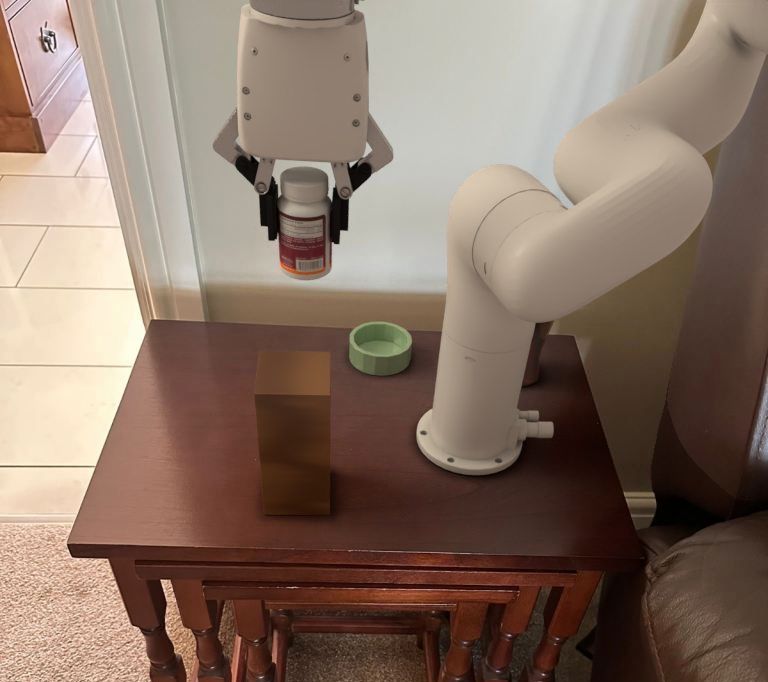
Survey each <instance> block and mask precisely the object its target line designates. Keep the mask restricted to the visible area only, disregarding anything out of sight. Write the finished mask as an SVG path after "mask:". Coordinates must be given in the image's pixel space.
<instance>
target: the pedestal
mask: <svg viewBox="0 0 768 682" xmlns="http://www.w3.org/2000/svg"><path fill="white" fill-rule="evenodd" d="M331 357H332V353H331V351H304V350H303V351H302V350H301V351H298V350H297V351H296V350H259V351H258V358H257V366H256V373H255V374H256V375H255V382H254V389H253V390H254V391H253V398H254V410H255V423H256V435H257V436H256V437H257V445H258V446H257V447H258V458H259V470H260V483H261V493H262V495H261V496H262V508H263V515H264V516H330V515H331V406H332V405H331V404H332V403H331V394H332V393H331V391H332V390H331V389H332V388H331V387H332V386H331V383H332V382H331V379H332V377H331V376H332V375H331V373H332V371H331V370H332V368H331V366H332V362H331V361H332V358H331Z"/></svg>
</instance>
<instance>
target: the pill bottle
mask: <svg viewBox="0 0 768 682" xmlns="http://www.w3.org/2000/svg"><path fill="white" fill-rule="evenodd" d="M279 181H280V182H279V185H280V187H279V189H280V195H279V196H278V201H277V218H278V236H277V240H278V254H279V268H280V269H279V270H280V271H281V272H282V273H283V274H284V275H285V276H287V277H289V278H292V279H294V280H298V281H315V280H319V279H322V278H324V277H326V276H327V275H328V274H330V272H331V271H332V269H333V242H331V239H332V198H331V197H330V196H329V190H330V187H329V186H330V185H329V184H330V183H329V175H328V173H326V171H324V170H323V169H321V168H317V167H313V166H302V165H301V166H293V167H288V168H287V169H284V170H283V171H282V172H281V173H280V176H279Z"/></svg>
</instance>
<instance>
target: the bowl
mask: <svg viewBox="0 0 768 682" xmlns="http://www.w3.org/2000/svg"><path fill="white" fill-rule="evenodd" d="M348 339H349V340H348V341H349V342H348V353H349V354H348V359H349V362H350V364H351V365H352V366H353V367H354V368H355V369H356V370H358V371H360V372H361V373H364V374H367V375H372V376H379V377H380V376H386V377H387V376H391V375H396V374H399V373H400V372H403V371H404V370H405V369H406V368H408V366H409V364H410V362H411V359H412V348H413V338H412V334H411V333H410V332H409V331H408V330H407V329H406V328H404V327H402V326H400V325H398V324H396V323H392V322H387V321H369V322H365V323H362V324H360V325H357V326H356V327H354V328H353V329H352V330H351V332H350V333H349V337H348Z"/></svg>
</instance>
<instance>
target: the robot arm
mask: <svg viewBox="0 0 768 682" xmlns="http://www.w3.org/2000/svg"><path fill="white" fill-rule="evenodd" d="M360 1H361V2H365V0H249V3H247V4H246V3H245V4H244V5H243V6H242V7H241V10H240V17H239V25H238V26H239V27H238V39H237V40H238V41H237V60H236V65H237V66H236V91H237V92H236V107H235V108H234V109H233V111H232V112H231V114H230V115H229V117H228V119H227V120H226V121H225V123H224V124H223V126H222V127H221V129H220V130H219V132H218V133H217V134H216V136H215V138H214V140H213V143H212V149H213V151H214V152H215V153H216V154H218V155H219V156H220V157H221V158H223V160H225V161H226V162H228V163H229V164H231V165H233V166H234V167H235V169H236V171H238V172H239V173H240V174H241V175H242V176H243V178H245V180H247V182H248V183H250V184H251V185H252V187H253V189H254V191H255V193H256V194H258V205H259V222H260V227H267V240H268V242H269V241H270V242H275V241H276V240H278V218H277V201H278V198H279V184H278V183H277V181H276V179H275V177H274V176H273V172H274V170H275V169H274V168H275V164H276V160H279V161H293V162H294V161H295V162H313V163H330V167H331V170H332V174H333V178H334V182H335V183H334V187H332V195H331V196H332V197H331V201H332V239H331V242H332V244H333V245H340V244H341V243H340V242H341V232H345V231H346V232H349V217H350V213H349V212H350V199H351V198H352V196H353V194H354V192H356V191H357V190H358V189H360V187H361V186H362V185H364V183H366V182H367V181H368V180H369V179H370V178H371V177H372V175H373V174H375V173H378V172H379V171H380V170H381V169H383V168H385V167H386V166H387V165H389V164H390V163H392V161H393V160H394V148H393V146H392V144H391V143H390V142H389V140H388V139H387V137H386V136H385V134H384V133H383V131H382V129H381V128H380V126H379V125H378V123H377V122H376V120H375V119H374V117H373V115H372V114H371V113H370V110H369V109H370V87H369V84H370V83H369V82H370V80H369V78H370V75H369V74H370V73H369V71H370V69H369V65H370V64H369V43H368V32H367V25H366V19H365V14H364V13H363V12H362V11H360V10H358V9H355V5H356V6H357V5H359V4H360ZM767 55H768V0H706V1H705V5H704V7H703V11H702V13H701V15H700V18H699V20H698V24H697V26H696V28H695V30H694V32H693V34H692V36H691V38H690V39H689V41H688V43H687V44H686V45H685V47H684V48H683V50H682V51H681V52H680V53H679V54H678V55H677V56H676V57H675V58H674V59H673V60H672V61H671V62H669V63H668V64H666V65H665V66H664V67H662V68H661V69H660V70H658V71H657V72H656V73H654V74H652V75H651V76H650V77H648V78H647V79H645V80H643V81H642V82H641V83H640V82H639V84H637V85H636V86H633V87H632V88H631V89H629V90H628V91H626V92H624V93H623V94H622V95H620V96H618V97H617V98H615V99H613V100H612V101H610V102H608V103H607V104H606V105H604V106H602V107H601V108H599V109H597V110H596V111H594V112H592V113H591V114H590V115H588V116H587V117H585V118H584V119H583V120H581V121H579V123H577V124H576V125H575V126H573V127H572V128H571V129H570V130H569V131H568V132H567V133H566V134H565V135H564V136H563V137H562V139H561V140H560V142H559V143H558V145H557V147H556V148H555V152H554V155H553V159H552V169H553V172H552V173H553V176H554V178H555V181H556V184H557V186H558V188H559V190H560V191H561V192H562V194H563V195H564V196H565V198H566V199H568V200H569V202H570V203H571V204H572V205H573V206H572V207H570V208H568V207H567V206H566V205H565V204H564V203H563V201H562V200H560V198H558V197H557V196H556V195H555V194H554V193H553V192H552V191H551V190H550V189H549V188H548V187H546V186H545V185H544V183H542V182H541V181H540V180H539V179H538V178H537V177H535V176H534V175H533V174H532V173H529V172H528V171H526V170H524V169H522V168H521V167H519V166H515V165H512V164H506V163H505V164H504V163H497V164H489V165H486V166H485V167H481V168H480V169H477V170H476V171H475V172H473V173H471V174H470V175H469V176H468V177H466V179H465V180H464V181H463V182H462V183H461V184H460V186H459V187H458V189H457V191H456V192H455V194H454V196H453V198H452V201H451V204H450V206H449V211H448V215H447V220H446V221H447V222H446V266H447V271H446V272H447V277H446V278H447V279H446V293H445V294H446V296H445V305H444V315H443V321H442V328H441V335H440V336H441V338H440V346H439V353H438V361H437V370H436V379H435V384H434V385H435V387H434V395H433V401H432V402H433V403H432V408H431V409H430V408H429V410H427V411H426V412H425V413H423V415H422V417H420V418H419V421H418V423H417V427H416V442H417V443H416V444H417V446H418V448H419V449H420V452H421V453H422V454H423V455H424V456H425V457H426V458H427V459H428V460H429V461H430V462H432V463H433V464H434V465H436V466H438V467H440V468H442V469H444V470H446V471H449V472H451V473H455V474H461V475H465V476H466V475H467V476H484V475H485V476H486V475H491V474H495V473H498V472H501V471H504V470H506V469H508V468H509V467H510V466H512V465H513V464H514V463H515V462H516V461H517V459H518V458H519V457H520V455H521V451H522V448H523V442H524V441H525V440H526V439H527V438H536V439H552V438H553V436H554V431H555V430H554V429H555V427H554V422H553V421H539V420H540V413H539V410H520V408H518V404H519V399H520V395H521V392H522V391H521V390H522V387H523V386H522V382H523V377H524V373H525V368H526V364H527V359H528V355H529V350H530V345H531V341H532V337H533V333H534V329H535V324H536V323H542V322H549V321H553V320H554V321H556V320H558V319H561V318H564V317H566V316H568V315H570V314H572V313H575V312H576V311H578V310H580V309H581V308H583V307H585V306H587V305H589V304H590V303H591V302H594V301H595V300H597V299H598V298H600V297H602V296H603V295H605V294H607V293H608V292H610V291H612V290H613V289H615V288H617V287H618V286H621V285H622V284H623V283H625V282H627V281H628V280H630V279H632V278H634V277H635V276H636V275H638V274H640V273H642V272H644V271H645V270H648V268H650V267H652V266H653V265H655V264H656V263H658V262H659V261H661V260H663V259H664V258H666V257H667V256H669V255H670V254H671V253H673V252H674V251H676V250H677V249H678V248H679V247H680V246H681V245H682V244H684V243H685V242H686V240H688V238H689V237H690V236H691V235H692V234H693V232H694V231H695V230H696V229H697V228H698V226H699V225H700V223H701V222H702V220H703V219H704V217H705V215H706V213H707V212H708V211H707V210H708V209H709V206H710V202H711V200H712V196H713V188H714V182H713V175H712V171H711V168H710V167H709V166H710V165H709V164H708V162H707V160H706V158H705V157H704V156H703V155H705V154H706V153H708V152H709V151H711V150H712V149H713V148H715V147H717V146H718V145H719V144H721V142H723V141H724V140H726V138H728V136H730V135H731V134H732V132H733V131H734V130H735V129H736V128H737V126H738V125H739V124H740V122H741V120H742V119H743V117H744V115H745V113H746V111H747V109H748V107H749V104H750V101H751V99H752V96H753V93H754V90H755V87H756V84H757V81H758V80H759V76H760V74H761V71H762V68H763V65H764V63H765V60H766V57H767ZM237 138H238V140H239V143H238V142H237ZM367 144H368V146H369V147H370V148H371V151H370V152H369V153H367V154H366V155H365V153H366V148H367ZM364 155H365V156H364ZM257 158H259V160H258V159H257ZM354 162H355V163H354ZM351 163H353V165H351Z"/></svg>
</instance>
